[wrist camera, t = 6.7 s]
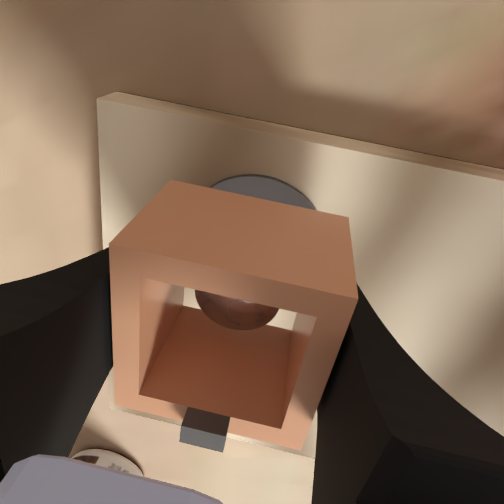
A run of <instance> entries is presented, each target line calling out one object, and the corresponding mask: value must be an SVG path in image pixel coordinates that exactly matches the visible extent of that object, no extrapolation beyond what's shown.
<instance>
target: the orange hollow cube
mask: <svg viewBox="0 0 504 504" xmlns="http://www.w3.org/2000/svg"><path fill="white" fill-rule="evenodd" d="M109 262H110V288H111V315H112V342H113V369H114V395H115V405H117V406H121V407H125V408H129V409H133V410H137V411H142V412H146V413H150V414H154V415H158V416H162V417H166V418H170V419H174V420H178V421H182V425H181V432H180V441H179V442H183V443H187V444H191V445H195V446H199V447H203V448H207V449H211V450H215V451H219V452H223V449H224V445H225V441H226V437H227V433H231V434H235V435H239V436H243V437H248V438H252V439H256V440H260V441H264V442H268V443H272V444H276V445H280V446H284V447H288V448H292V449H296V450H301V449H302V447H303V444H304V441H305V439H306V436H307V434H308V431H309V428H310V426H311V423H312V420H313V418H314V415H315V412H316V410H317V407H318V404H319V402H320V399H321V397H322V394H323V391H324V389H325V386H326V383H327V381H328V378H329V375H330V373H331V370H332V368H333V365H334V362H335V360H336V357H337V354H338V352H339V349H340V346H341V344H342V341H343V338H344V336H345V333H346V331H347V328H348V325H349V323H350V320H351V317H352V315H353V312H354V309H355V307H356V304H357V301H358V291H357V283H356V275H355V267H354V258H353V250H352V242H351V234H350V226H349V217H345V216H340V215H336V214H331V213H326V212H321V211H317V210H312V209H307V208H303V207H298V206H293V205H288V204H284V203H279V202H274V201H269V200H265V199H260V198H255V197H251V196H246V195H241V194H236V193H232V192H227V191H222V190H217V189H213V188H208V187H203V186H199V185H194V184H189V183H184V182H180V181H175V180H170V181H169V182H168V183H167V184H166V185H165V186H164V187H163V188H162V189H161V190H160V191H159V192H158V193H157V194H156V195H155V196H154V197H153V198H152V199H151V200H150V202H149V203H148V204H147V205H146V206H145V207H144V208H143V209H142V210H141V211H140V212H139V213H138V214H137V215H136V216H135V217H134V218H133V219H132V220H131V221H130V222H129V223H128V224H127V225H126V226H125V227H124V228H123V229H122V230H121V231H120V232H119V234H118V235H117V236H116V237H115V238H114V239H113V240H112V241H111V242H110V243H109ZM185 287H186V288H191V289H195V290H200V291H204V292H208V293H213V294H217V295H222V296H226V297H230V298H235V299H239V300H244V301H248V302H253V303H257V304H261V305H266V306H270V307H275V308H279V309H284V310H288V311H292V312H297V313H296V317H295V320H294V324H293V328H292V330H288V329H284V328H280V327H275V326H271V325H264V326H262V327H260V328H257V329H253V330H234V329H229V328H226V327H223V326H221V325H219V324H217V323H215V322H214V321H212V320H211V319H210V318H209V317H207V316H206V315H205V314H204V312H203V311H202V310H201V309H197V308H192V307H188V306H183V300H184V288H185Z"/></svg>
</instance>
